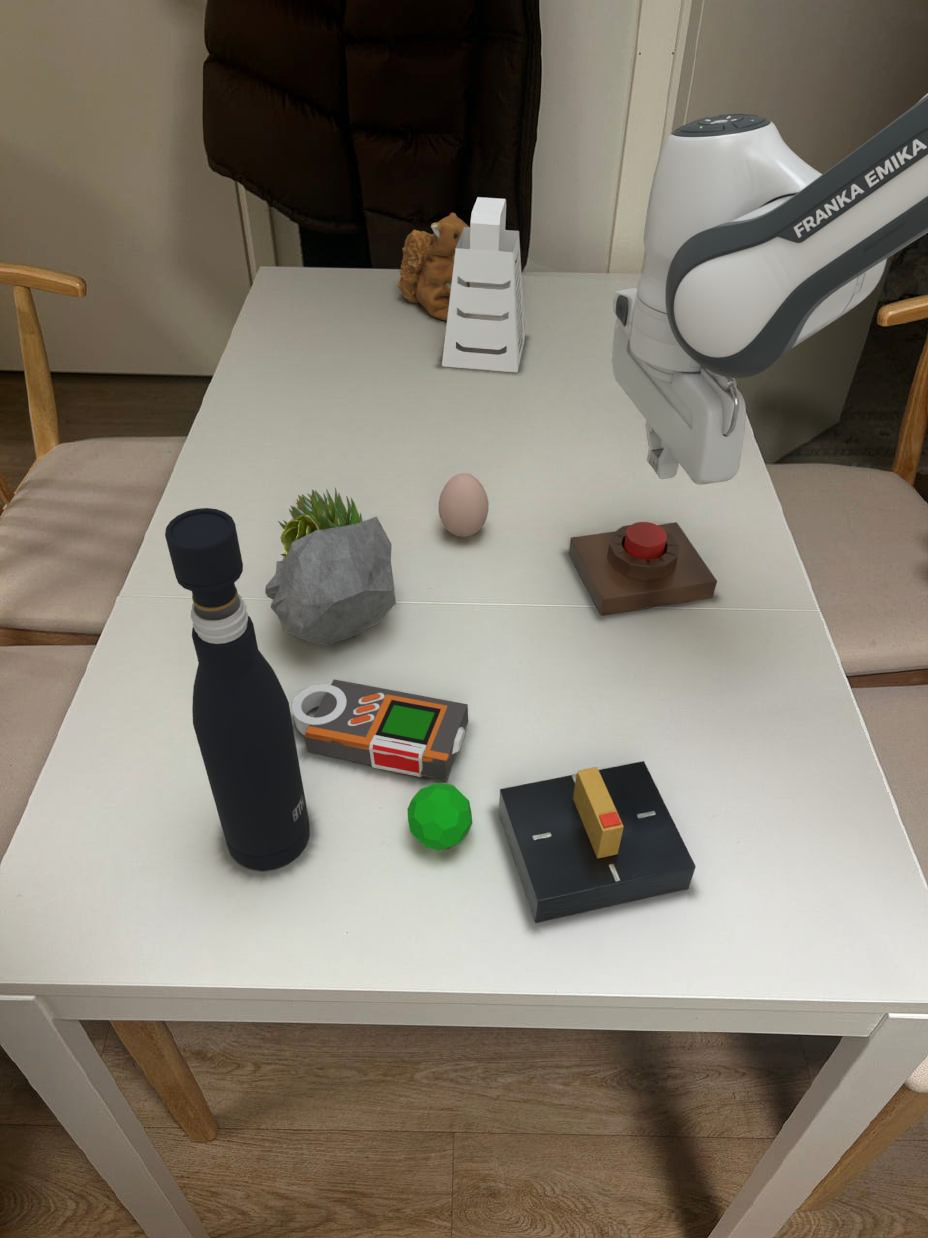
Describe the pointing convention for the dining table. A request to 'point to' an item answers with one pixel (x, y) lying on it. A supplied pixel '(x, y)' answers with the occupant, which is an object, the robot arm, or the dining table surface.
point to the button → (645, 540)
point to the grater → (486, 292)
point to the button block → (640, 571)
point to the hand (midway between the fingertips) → (661, 470)
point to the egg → (463, 505)
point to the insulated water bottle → (238, 701)
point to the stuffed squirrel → (431, 265)
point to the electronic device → (382, 727)
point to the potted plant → (331, 571)
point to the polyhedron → (439, 816)
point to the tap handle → (597, 812)
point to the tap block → (563, 854)
